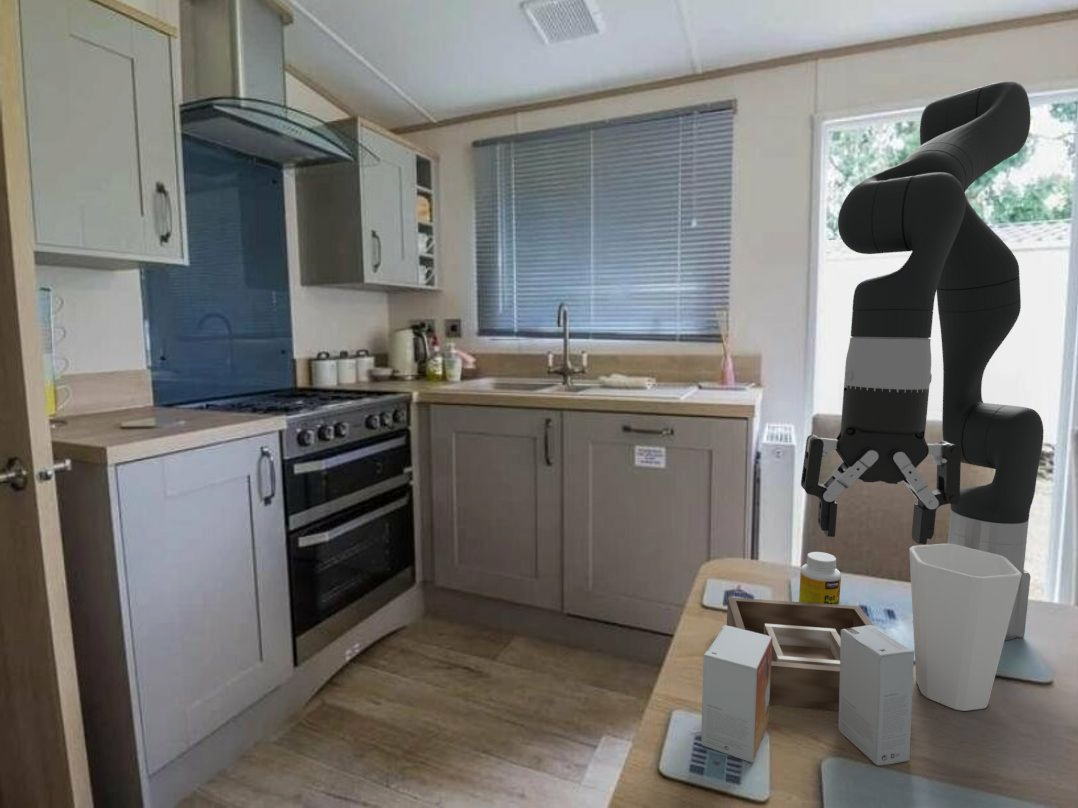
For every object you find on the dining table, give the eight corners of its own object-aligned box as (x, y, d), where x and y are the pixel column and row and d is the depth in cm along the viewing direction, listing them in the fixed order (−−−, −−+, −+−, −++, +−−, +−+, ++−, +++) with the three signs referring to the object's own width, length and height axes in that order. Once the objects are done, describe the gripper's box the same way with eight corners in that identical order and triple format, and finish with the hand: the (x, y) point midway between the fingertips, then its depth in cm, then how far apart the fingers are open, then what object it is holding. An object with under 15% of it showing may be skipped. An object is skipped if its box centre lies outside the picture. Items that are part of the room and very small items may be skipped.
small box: (753, 765, 63) (757, 669, 62) (699, 746, 66) (702, 654, 65) (770, 722, 70) (774, 635, 69) (720, 706, 73) (723, 622, 72)
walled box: (857, 639, 88) (859, 606, 88) (909, 718, 71) (913, 677, 70) (726, 629, 91) (727, 597, 91) (746, 702, 74) (747, 663, 73)
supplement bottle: (824, 633, 90) (828, 566, 89) (790, 618, 94) (793, 554, 93) (845, 623, 93) (849, 558, 92) (811, 608, 98) (815, 546, 96)
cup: (1018, 730, 68) (1033, 584, 66) (913, 711, 72) (924, 571, 70) (985, 676, 79) (997, 548, 76) (894, 662, 82) (904, 538, 80)
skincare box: (911, 761, 64) (920, 651, 62) (874, 768, 63) (882, 656, 61) (867, 724, 70) (874, 622, 68) (833, 729, 69) (839, 627, 67)
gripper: (949, 382, 64) (935, 533, 66) (803, 378, 67) (793, 521, 69) (983, 388, 57) (966, 557, 59) (817, 383, 60) (806, 543, 62)
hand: (872, 538), depth 64 cm, fingers open, 8 cm apart
